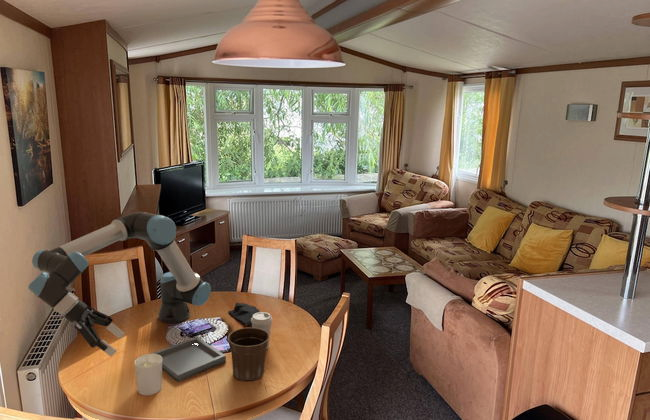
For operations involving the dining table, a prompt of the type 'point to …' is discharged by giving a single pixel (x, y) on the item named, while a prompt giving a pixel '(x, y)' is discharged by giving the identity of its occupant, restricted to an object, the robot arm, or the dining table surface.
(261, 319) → the coffee cup
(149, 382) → the candle holder
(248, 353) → the plant pot
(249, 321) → the dark grey crumpled cloth
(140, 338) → the dining table surface
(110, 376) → the dining table surface
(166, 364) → the tray
